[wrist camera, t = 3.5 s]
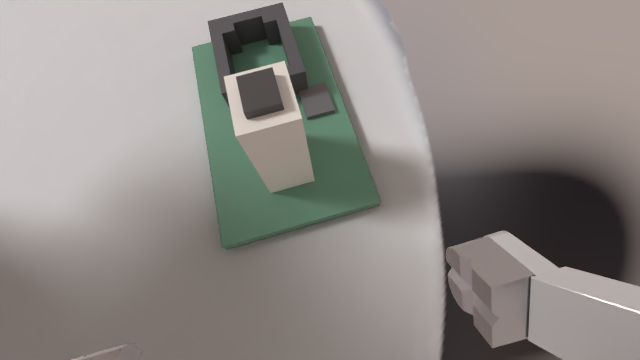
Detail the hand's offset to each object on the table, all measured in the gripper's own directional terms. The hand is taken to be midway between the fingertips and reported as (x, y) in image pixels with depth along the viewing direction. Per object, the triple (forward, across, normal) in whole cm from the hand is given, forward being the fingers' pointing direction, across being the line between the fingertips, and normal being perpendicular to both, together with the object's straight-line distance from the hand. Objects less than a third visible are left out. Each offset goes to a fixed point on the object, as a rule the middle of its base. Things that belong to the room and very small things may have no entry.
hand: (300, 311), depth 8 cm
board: (+21, 0, -1) cm, 21 cm away
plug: (+17, 0, +2) cm, 17 cm away
